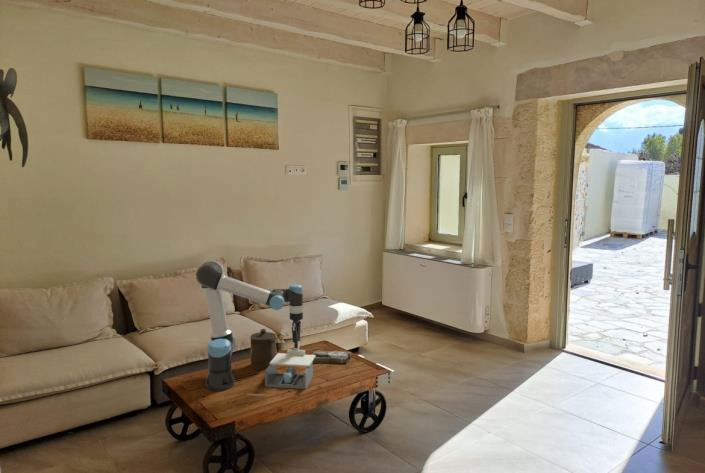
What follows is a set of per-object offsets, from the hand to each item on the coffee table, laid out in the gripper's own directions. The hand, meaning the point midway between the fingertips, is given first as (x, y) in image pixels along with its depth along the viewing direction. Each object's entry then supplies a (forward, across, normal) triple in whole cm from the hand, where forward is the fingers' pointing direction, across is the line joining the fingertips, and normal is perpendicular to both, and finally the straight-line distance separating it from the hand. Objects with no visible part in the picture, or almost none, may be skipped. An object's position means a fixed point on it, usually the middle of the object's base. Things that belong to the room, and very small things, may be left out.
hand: (296, 352), depth 271 cm
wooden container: (+12, +7, +22) cm, 26 cm away
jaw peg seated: (+10, -12, 0) cm, 16 cm away
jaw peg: (+10, -20, 0) cm, 23 cm away
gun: (+12, +21, -15) cm, 29 cm away
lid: (+2, -8, 0) cm, 8 cm away
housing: (+11, -16, 0) cm, 20 cm away
